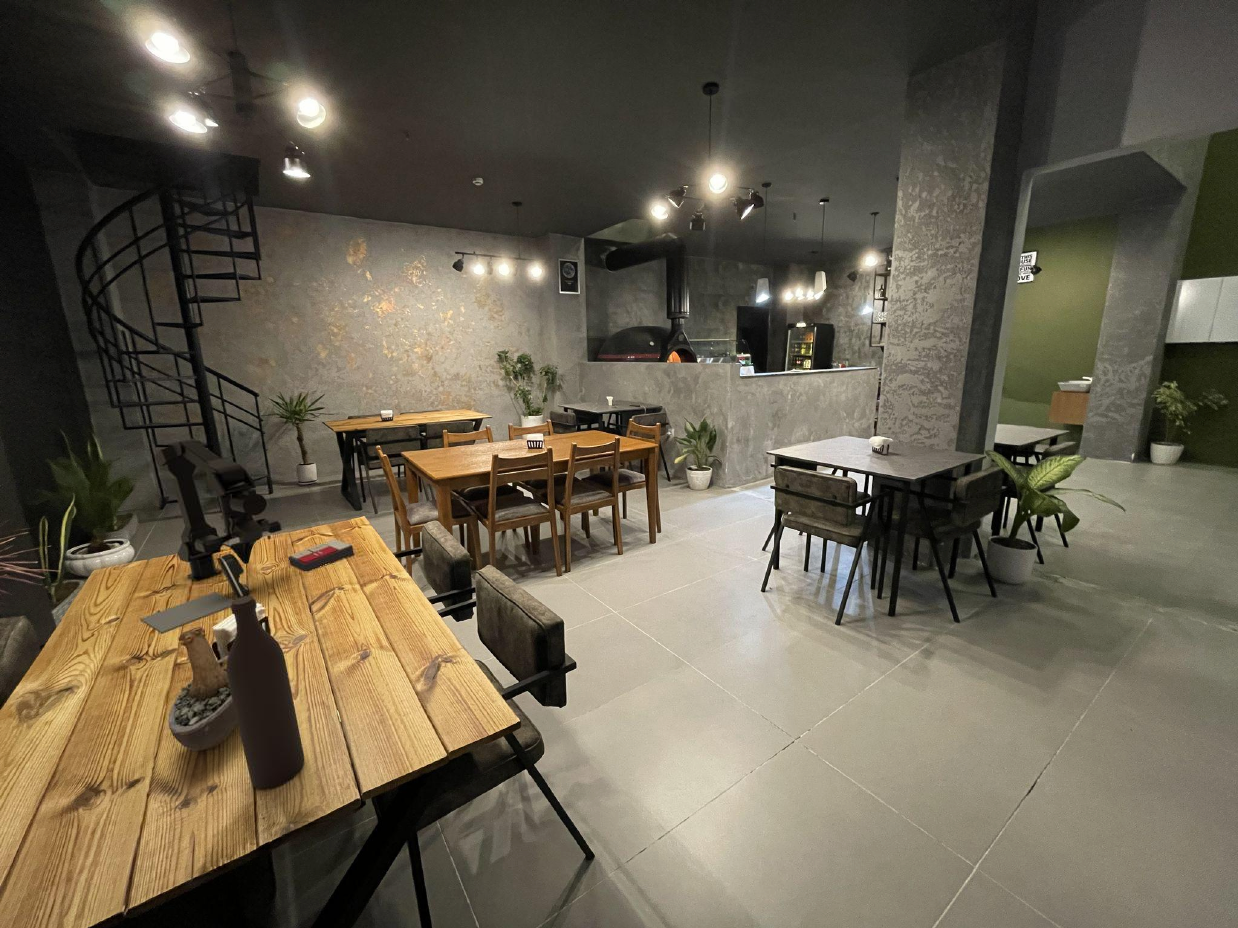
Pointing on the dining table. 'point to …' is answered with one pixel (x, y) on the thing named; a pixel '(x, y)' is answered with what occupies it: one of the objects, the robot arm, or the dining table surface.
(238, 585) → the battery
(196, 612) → the mat
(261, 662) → the wine bottle
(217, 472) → the robot arm
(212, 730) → the planter
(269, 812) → the dining table surface
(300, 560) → the grey and red box
